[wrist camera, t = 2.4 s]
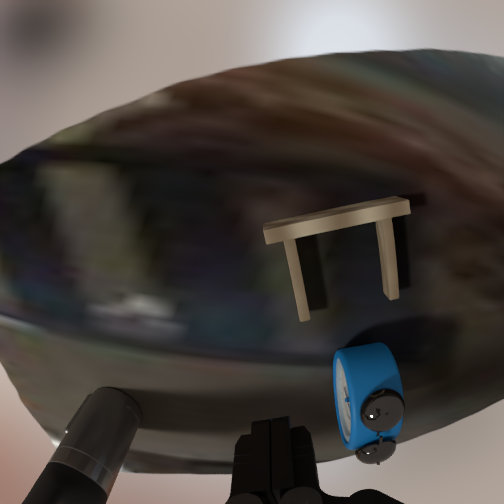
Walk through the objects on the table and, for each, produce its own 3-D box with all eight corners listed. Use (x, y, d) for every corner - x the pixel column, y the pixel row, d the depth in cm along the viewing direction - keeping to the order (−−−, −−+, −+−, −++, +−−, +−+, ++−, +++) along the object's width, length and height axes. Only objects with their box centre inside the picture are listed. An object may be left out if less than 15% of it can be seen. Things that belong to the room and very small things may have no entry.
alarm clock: (331, 330, 40) (359, 407, 25) (376, 322, 39) (420, 393, 25) (332, 403, 43) (350, 481, 29) (371, 396, 43) (400, 469, 28)
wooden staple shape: (284, 315, 39) (285, 331, 35) (263, 223, 36) (263, 230, 33) (404, 286, 38) (416, 298, 34) (394, 196, 35) (408, 199, 31)
